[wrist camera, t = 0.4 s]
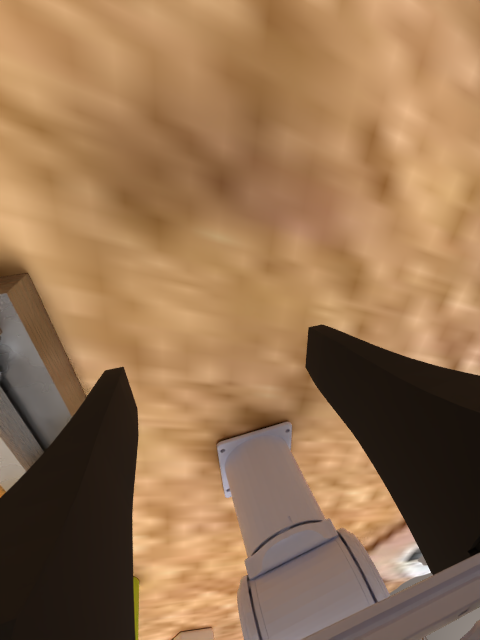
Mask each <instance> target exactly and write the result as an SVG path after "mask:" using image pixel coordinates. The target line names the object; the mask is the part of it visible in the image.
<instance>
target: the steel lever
mask: <svg viewBox="0 0 480 640" xmlns="http://www.w3.org/2000/svg"><path fill="white" fill-rule="evenodd" d="M1 379H2V375H1V372H0V381H1ZM43 453H44V451H43V450H42V448H41V447H40V445H39V444H38V442H37V441H36V439H35V438H34V436H33V435H32V433H31V432H30V430H29V429H28V427H27V426H26V424H25V423H24V421H23V420H22V418H21V417H20V415H19V414H18V412H17V411H16V409H15V408H14V406H13V405H12V403H11V402H10V400H9V399H8V397H7V396H6V394H5V393H4V391H3V390H2V388H1V387H0V485H1V486H2V487H3V489H4V490H5V491H6V492H7V491H8V490H9V489H10V488H11V487H12V486H13V485H14V484H15V483H16V482H17V481H18V480H19V479H20V478H21V477H22V476H23V475H24V474H25V472H26V471H27V470H28V469H29V468H30V467H31V466H32V465H33V464H34V463H35V462H36V461H37V460H38V459H39V457H40V456H41V455H42V454H43Z"/></svg>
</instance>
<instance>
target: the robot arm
mask: <svg viewBox="0 0 480 640" xmlns="http://www.w3.org/2000/svg"><path fill="white" fill-rule="evenodd" d="M306 369H307V371H308V372H309V374H310V376H311V378H312V380H313V381H314V383H315V385H316V386H317V388H318V389H319V390H320V392H321V393H322V394H323V396H324V397H325V398H326V400H327V401H328V402H329V403H330V405H331V406H332V407H333V409H334V410H335V411H336V412H337V414H338V415H339V416H340V418H341V419H342V420H343V421H344V423H345V424H346V425H347V427H348V428H349V429H350V430H351V432H352V433H353V434H354V436H355V437H356V439H357V440H358V442H359V443H360V445H361V446H362V448H363V449H364V451H365V453H366V454H367V456H368V457H369V459H370V461H371V462H372V464H373V465H374V467H375V469H376V470H377V472H378V474H379V475H380V477H381V479H382V480H383V482H384V484H385V486H386V487H387V489H388V491H389V492H390V494H391V496H392V498H393V500H394V502H395V503H396V505H397V507H398V509H399V511H400V512H401V514H402V516H403V518H404V520H405V521H406V523H407V525H408V527H409V529H410V531H411V533H412V535H413V537H414V539H415V541H416V543H417V545H418V547H419V549H420V551H421V553H422V555H423V557H424V559H425V560H426V563H427V565H428V567H429V569H430V571H431V573H432V574H433V576H431V577H429V578H427V579H424V580H422V581H420V582H418V583H416V584H414V585H412V586H410V587H408V588H406V589H404V590H402V591H400V592H398V593H396V594H394V595H392V596H390V594H389V592H388V590H387V588H386V586H385V584H384V582H383V580H382V578H381V576H380V574H379V572H378V571H377V569H376V567H375V565H374V563H373V562H372V560H371V558H370V556H369V555H368V553H367V552H366V550H365V548H364V547H363V545H362V544H361V543H360V541H359V540H358V539H357V537H356V536H355V535H354V534H352V533H350V532H348V531H347V530H346V529H344V528H340V529H338V530H337V531H336V529H335V527H334V526H333V524H332V522H331V520H330V519H325V517H324V515H323V513H322V511H321V509H320V507H319V505H318V504H317V502H316V500H315V498H314V496H313V494H312V492H311V490H310V488H309V486H308V484H307V482H306V480H305V478H304V476H303V474H302V472H301V470H300V468H299V466H298V464H297V462H296V460H295V459H294V457H293V455H292V453H291V437H292V425H291V423H290V422H284V423H281V424H277V425H274V426H271V427H267V428H264V429H261V430H257V431H254V432H251V433H247V434H244V435H241V436H237V437H234V438H231V439H227V440H224V441H221V442H219V443H218V444H217V451H218V458H219V464H220V470H221V476H222V482H223V488H224V494H225V497H227V498H229V497H232V499H233V503H234V507H235V510H236V514H237V518H238V522H239V526H240V529H241V533H242V537H243V541H244V545H245V548H246V552H247V556H248V558H247V559H245V565H246V569H247V573H248V575H246V576H244V577H242V578H241V580H240V586H239V589H238V592H237V602H238V610H239V617H240V622H241V627H242V632H243V637H244V640H420V639H422V638H423V637H425V636H427V635H429V634H431V633H432V632H435V631H436V630H438V629H440V628H442V627H444V626H446V625H447V624H449V623H451V622H453V621H455V620H457V619H459V618H460V617H462V616H464V615H466V614H467V613H470V612H471V611H473V610H475V609H477V608H479V607H480V376H479V375H474V374H469V373H465V372H460V371H456V370H451V369H447V368H443V367H439V366H435V365H432V364H428V363H425V362H421V361H418V360H415V359H411V358H408V357H405V356H402V355H399V354H397V353H394V352H391V351H388V350H385V349H383V348H380V347H378V346H375V345H372V344H370V343H368V342H365V341H363V340H360V339H358V338H355V337H353V336H351V335H348V334H346V333H343V332H341V331H338V330H336V329H333V328H331V327H328V326H325V325H318V326H313V327H309V330H308V342H307V355H306ZM137 446H138V413H137V406H136V403H135V400H134V397H133V394H132V391H131V388H130V385H129V382H128V379H127V376H126V373H125V370H124V367H120V368H115V369H110V370H106V371H104V373H103V374H102V375H101V377H100V378H99V380H98V381H97V383H96V384H95V386H94V387H93V389H92V390H91V392H90V393H89V394H88V396H87V397H86V399H85V400H84V402H83V403H82V404H81V406H80V407H79V409H78V410H77V411H76V413H75V414H74V415H73V417H72V418H71V420H70V421H69V422H68V423H67V425H66V426H65V427H64V428H63V430H62V431H61V432H60V433H59V435H58V436H57V437H56V439H55V440H54V441H53V442H52V444H51V445H50V446H49V447H48V448H47V449H46V451H45V452H44V453H43V454H42V455H41V456H40V457H39V459H38V460H37V461H36V462H35V463H34V464H33V465H32V466H31V467H30V468H29V469H28V470H27V471H26V472H25V474H24V475H23V476H22V477H21V478H20V479H19V480H18V481H17V482H16V483H15V484H14V485H13V486H12V487H11V488H10V489H9V490H8V491H7V492H6V493H5V494H4V495H2V496H1V497H0V640H135V615H134V588H133V541H132V509H133V493H134V481H135V470H136V458H137ZM460 640H480V620H479V621H477V622H476V623H475V625H474V626H473V628H472V629H471V630H470V631H469V632H468V633H467V634H466V635H464V637H462V638H461V639H460Z"/></svg>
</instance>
